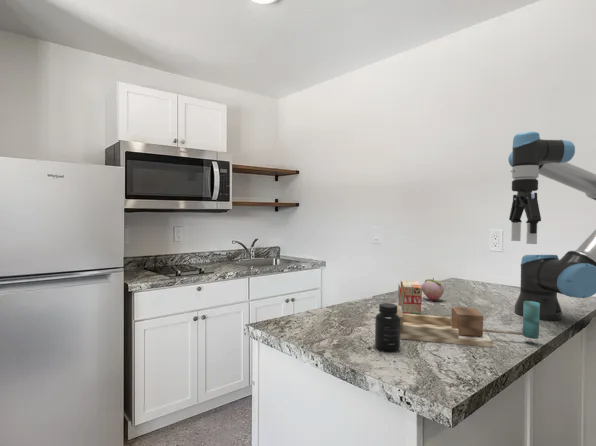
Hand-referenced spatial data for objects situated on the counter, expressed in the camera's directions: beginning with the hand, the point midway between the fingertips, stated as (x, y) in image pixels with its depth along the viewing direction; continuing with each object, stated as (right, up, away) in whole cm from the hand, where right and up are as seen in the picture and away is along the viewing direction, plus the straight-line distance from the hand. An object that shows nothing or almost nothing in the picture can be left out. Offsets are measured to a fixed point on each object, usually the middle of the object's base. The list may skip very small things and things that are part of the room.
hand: (523, 242), depth 122 cm
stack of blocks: (-34, -28, +15) cm, 47 cm away
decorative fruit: (-17, -28, +37) cm, 49 cm away
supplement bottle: (-51, -28, -22) cm, 63 cm away
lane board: (-32, -28, -10) cm, 44 cm away
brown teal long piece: (-17, -27, -14) cm, 34 cm away
